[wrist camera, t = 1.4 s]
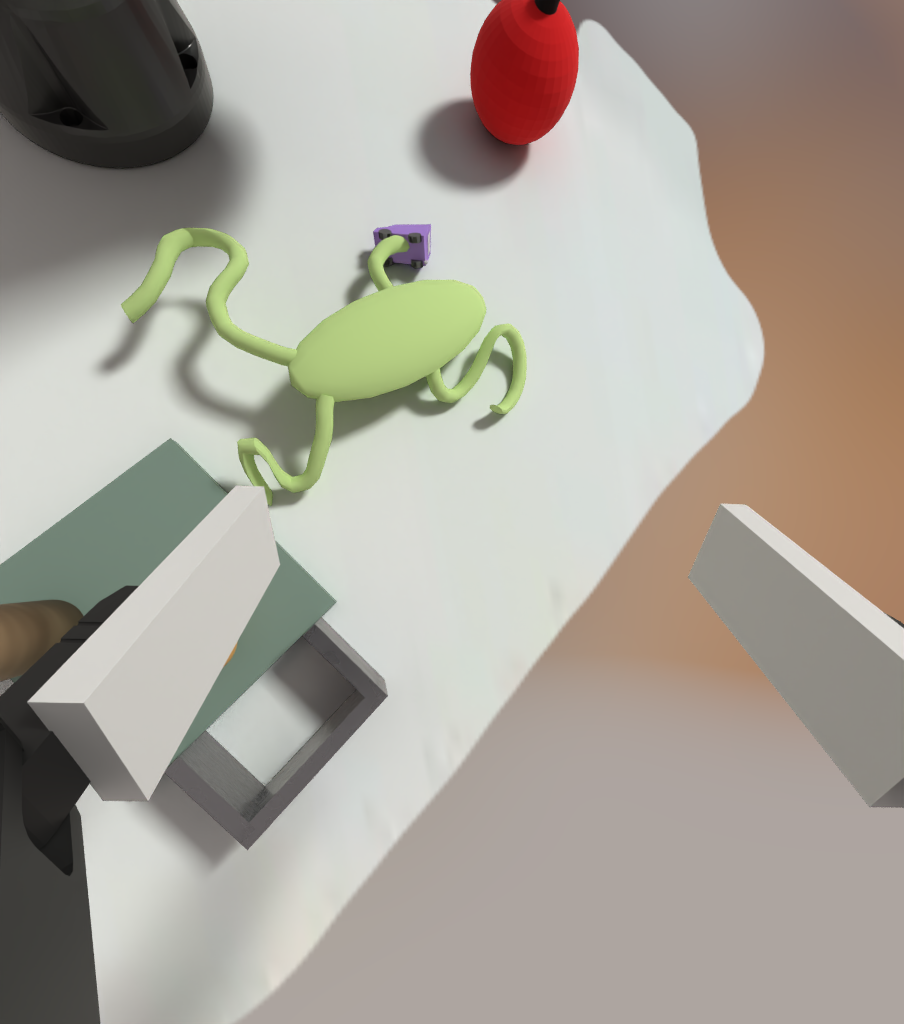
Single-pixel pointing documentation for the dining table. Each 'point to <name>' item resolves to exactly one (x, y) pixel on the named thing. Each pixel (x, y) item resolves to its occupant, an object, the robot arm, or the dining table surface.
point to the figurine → (351, 336)
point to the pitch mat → (143, 547)
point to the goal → (255, 806)
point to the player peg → (32, 632)
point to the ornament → (524, 68)
